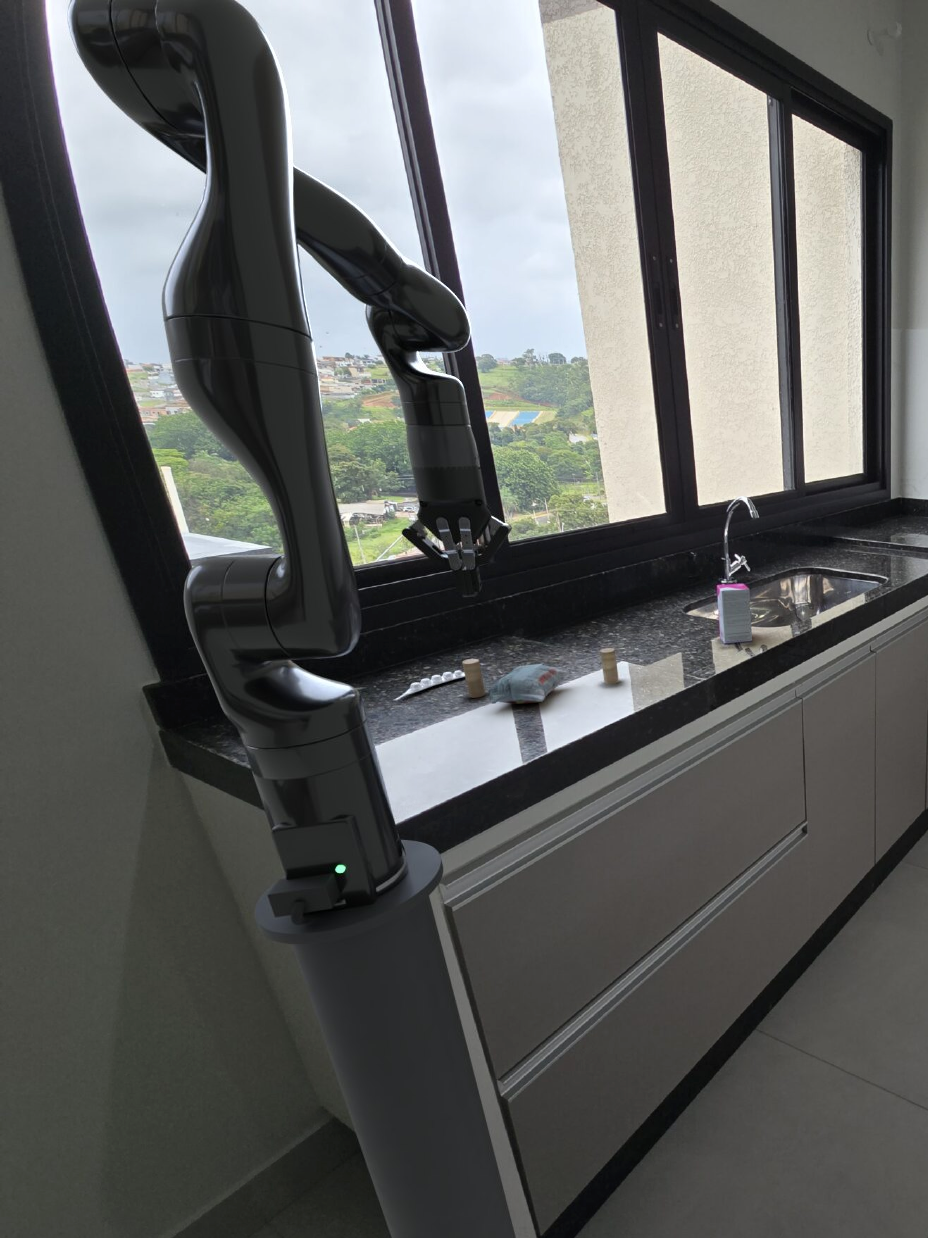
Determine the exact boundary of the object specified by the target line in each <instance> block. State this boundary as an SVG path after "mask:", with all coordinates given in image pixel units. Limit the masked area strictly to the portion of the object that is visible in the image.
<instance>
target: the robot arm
mask: <svg viewBox="0 0 928 1238" xmlns="http://www.w3.org/2000/svg"><path fill="white" fill-rule="evenodd" d="M67 24H68V29H69V34H70V37H71V40H72V42H73V46H74V48H75V51H76V53H77V55H78V57H79V59H80V60H81V62H82V64H83V66H84V68H85V69H86V71H87V72H88V73H89V75H90V76H91V78H92V79H93V81H94V82H95V83H96V85H97V86H98V87H99V89H100V90H101V91H102V92H103V93H104V94H105V96H106V97H107V98H108V100H110V101H111V102H112V103H113V104H114V105H115V106H116V107H117V108H118V109H119V110H120V111H122V112H123V114H125V115H126V117H128V118H129V119H131V121H133V122H134V123H135V124H137V126H139V127H140V128H141V129H143V130H144V131H145V132H147V134H149V135H150V136H152V137H153V138H154V139H155V140H157V141H159V142H160V143H161V144H163V145H164V146H165V147H167V148H168V149H170V150H171V151H172V152H174V153H175V154H176V155H178V156H179V157H180V158H182V159H183V160H184V161H186V162H187V163H189V164H190V165H192V166H193V167H195V168H196V169H198V170H199V171H200V172H201V173H202V174H204V175H205V183H204V190H203V194H202V197H201V201H200V204H199V206H198V209H197V211H196V213H195V214H194V217H193V219H192V222H191V224H190V226H189V227H188V229H187V231H186V233H185V235H184V237H183V239H182V241H181V243H180V245H179V247H178V249H177V251H176V253H175V255H174V256H173V257H174V258H173V260H172V262H171V264H170V266H169V269H168V271H167V274H166V277H165V281H164V284H163V286H162V291H161V311H162V320H163V325H164V330H165V336H166V341H167V347H168V348H167V349H168V353H169V357H170V358H169V359H170V363H171V369H172V374H173V377H174V381H175V383H176V386H177V389H178V390H179V392H180V394H181V396H182V398H183V399H184V401H185V402H186V403H187V405H188V406H189V408H190V409H191V410H192V412H193V413H194V414H195V416H196V417H197V418H198V419H199V420H200V421H201V422H202V424H203V425H204V426H205V427H206V428H207V429H208V431H210V433H211V434H212V435H213V436H214V437H215V438H216V439H217V440H218V441H219V443H220V444H222V446H223V447H224V448H225V449H226V450H227V451H228V452H229V453H230V454H231V455H232V456H233V457H234V459H236V461H238V463H239V465H240V466H242V467H243V468H244V470H245V471H246V472H247V473H248V474H249V475H250V477H251V478H252V480H254V482H255V484H257V486H258V487H259V489H260V490H261V492H262V493H263V495H264V497H265V499H266V501H267V503H268V505H269V507H270V509H271V511H272V514H273V516H274V520H275V523H276V526H277V530H278V532H279V536H280V540H281V544H282V551H283V553H270V554H269V553H268V554H266V553H265V554H262V553H261V554H233V555H232V554H230V555H217V556H211V557H207V558H204V559H202V560H200V561H199V562H197V563H196V564H195V565H193V567H192V568H191V569H190V570H189V572H188V574H187V576H186V579H185V582H184V586H183V587H184V589H183V606H184V612H185V618H186V621H187V625H188V629H189V632H190V634H191V636H192V639H193V642H194V645H195V646H196V649H197V652H198V654H199V656H200V659H201V661H202V663H203V666H204V667H205V670H206V673H207V675H208V677H209V679H210V682H211V684H212V687H213V690H214V692H215V695H216V697H217V700H218V702H219V704H220V707H221V709H222V712H223V713H224V715H225V716H226V717H227V718H228V720H229V721H230V723H232V724H233V725H234V727H235V728H236V730H237V731H238V733H239V736H240V740H241V742H242V746H243V748H244V751H245V754H246V758H247V760H248V763H249V764H248V765H249V766H250V769H251V773H252V776H253V779H254V782H255V785H256V788H257V792H258V794H259V797H260V801H261V804H262V807H263V810H264V813H265V816H266V818H267V821H268V824H269V827H270V835H271V838H272V841H273V844H274V848H275V850H276V853H277V857H278V859H279V862H280V863H279V864H280V866H281V868H282V872H283V874H284V875H283V876H285V879H281V878H279V879H278V880H276V882H277V883H276V884H275V885H274V887H273V888H272V889H271V891H270V892H269V893H268V895H267V896H268V899H269V902H270V905H271V907H272V910H273V913H274V916H275V918H276V917H282V916H288V915H291V921H292V923H293V924H294V925H302V924H306V923H308V922H309V921H311V916H310V915H312V914H318V913H324V912H330V911H337V910H343V909H349V908H355V907H361V906H367V905H372V904H374V903H375V901H376V899H377V898H378V897H379V896H381V895H382V894H384V893H386V892H388V891H389V890H391V889H392V888H393V887H395V886H396V885H397V884H398V883H399V882H400V881H401V880H402V879H403V878H404V877H405V875H406V873H407V871H408V865H407V861H406V857H405V855H406V853H405V849H404V846H403V844H402V842H401V840H402V839H401V838H400V836H399V831H398V827H397V824H396V821H395V817H394V813H393V809H392V805H391V801H390V798H389V794H388V790H387V787H386V782H385V779H384V775H383V772H382V768H381V764H380V760H379V757H378V753H377V747H376V745H375V740H374V736H373V732H372V728H371V725H370V721H369V717H368V712H367V709H366V706H365V701H364V697H363V696H362V694H361V692H360V691H359V690H358V689H357V688H356V687H354V686H352V685H351V684H348V683H346V682H342V681H337V680H334V679H330V678H326V677H323V676H320V675H317V674H315V673H312V672H310V671H308V670H306V669H304V668H303V667H300V666H299V665H297V664H296V663H295V662H294V661H298V660H299V661H300V660H316V659H332V658H337V657H338V658H339V657H343V656H344V655H345V656H346V655H347V654H349V653H351V652H352V650H353V649H354V648H355V647H356V645H357V643H358V642H359V638H360V635H361V630H362V603H361V598H360V597H361V596H360V591H359V586H358V582H357V578H356V577H357V576H356V573H355V568H354V564H353V560H352V556H351V555H352V554H351V552H350V548H349V543H348V539H347V536H346V531H345V527H344V524H343V520H342V516H341V511H340V507H339V503H338V500H337V495H336V490H335V485H334V480H333V475H332V470H331V464H330V463H331V462H330V457H329V456H330V455H329V450H328V444H327V438H326V431H325V424H324V413H323V407H322V406H323V405H322V397H321V387H320V380H319V379H320V377H319V371H318V364H317V358H316V350H315V344H314V342H313V341H314V339H313V334H312V328H311V323H310V317H309V313H308V308H307V307H308V306H307V301H306V295H305V289H304V282H303V276H302V275H303V274H302V268H301V267H302V266H301V259H300V253H299V247H300V248H301V249H302V250H303V251H304V252H306V253H307V254H308V256H310V257H311V258H312V259H313V260H314V261H315V262H316V263H317V264H318V265H319V267H321V268H322V269H323V270H324V271H326V273H327V274H328V275H329V276H330V277H331V278H332V279H334V281H336V282H337V283H338V284H339V286H341V287H342V288H343V289H344V290H345V291H346V292H347V293H348V294H349V295H350V296H352V297H353V298H354V299H355V300H357V301H358V302H360V303H362V304H364V316H365V321H366V324H367V327H368V330H369V332H370V334H371V337H372V339H373V340H374V343H375V344H376V346H377V348H378V351H379V352H380V354H381V355H382V358H383V360H384V362H385V364H386V367H387V369H388V371H389V373H390V375H391V377H392V379H393V381H394V384H395V386H396V388H397V391H398V394H399V399H400V405H401V409H402V415H403V419H404V420H403V421H404V424H405V430H406V445H407V451H408V456H409V460H410V461H409V462H410V465H411V471H412V475H413V480H414V485H415V490H416V491H415V492H416V495H417V500H418V505H419V507H418V511H417V513H416V518H417V520H415V521H414V522H413V523H411V524H410V525H409V526H406V527H405V528H403V529H402V530H401V534H402V536H403V537H404V538H405V539H406V540H407V541H408V542H410V543H411V544H412V545H413V546H414V547H415V548H416V549H418V550H419V551H420V552H421V553H422V554H423V555H424V556H426V557H427V558H428V559H429V560H430V561H431V562H432V563H434V564H435V565H437V566H440V567H441V566H443V567H446V568H449V569H450V570H451V571H452V575H453V581H454V585H455V590H456V592H457V593H458V594H461V595H462V597H463V598H472V597H474V598H475V597H477V595H478V593H479V592H480V591H481V590H482V587H483V584H482V579H481V573H480V566H482V565H487V564H488V563H489V562H490V561H492V560H493V558H494V556H495V555H496V554H497V552H498V550H499V549H500V548H501V546H502V544H504V542H505V541H506V539H507V537H508V536H509V534H510V533H511V531H512V530H513V527H512V525H511V523H507V522H503V521H501V520H500V519H498V518H497V517H496V516H495V517H494V513H493V511H492V509H491V507H490V506H489V505H488V503H487V499H486V494H485V488H484V481H483V476H482V469H481V464H480V461H481V460H480V454H479V452H478V447H477V442H476V439H475V436H474V433H473V429H472V426H471V419H470V413H469V409H468V404H467V403H468V402H467V398H466V392H465V388H464V385H463V383H462V381H460V380H459V379H458V378H457V377H456V376H453V375H450V374H446V373H441V372H436V371H432V370H430V369H429V368H428V367H427V366H426V365H425V363H424V361H422V359H421V357H420V355H419V353H454V352H458V351H460V350H462V349H463V348H465V347H466V346H467V345H468V343H469V341H470V338H471V335H472V327H471V321H470V318H469V315H468V313H467V310H466V308H465V307H464V305H463V303H462V302H461V300H460V299H459V298H458V297H457V295H455V293H454V292H453V291H452V290H451V289H450V288H449V287H447V286H446V285H445V284H444V283H443V282H442V281H440V280H439V279H438V278H437V277H434V276H433V275H432V274H430V273H429V272H427V271H426V270H424V269H423V267H421V266H420V265H418V264H417V263H416V262H413V261H412V260H410V259H408V258H407V257H405V256H403V254H402V253H401V252H400V251H399V250H398V249H397V247H396V246H395V245H394V244H393V242H392V241H391V240H390V239H389V238H388V237H387V236H386V234H385V233H384V232H383V231H382V230H381V228H380V227H379V226H378V225H377V224H376V223H375V222H374V221H373V219H371V217H370V216H369V215H368V214H367V213H365V211H363V210H362V209H361V208H360V207H359V206H358V205H356V204H355V203H354V202H353V201H351V200H350V199H349V198H347V197H346V196H344V195H343V194H341V193H340V192H339V191H337V190H336V189H334V188H332V187H331V186H329V185H327V184H326V183H324V182H322V181H321V180H319V179H317V178H316V177H314V176H312V175H311V174H309V173H307V172H305V171H304V170H302V169H301V168H299V167H297V166H295V165H294V161H293V139H292V124H291V123H292V121H291V114H290V107H289V98H288V93H287V88H286V84H285V81H284V77H283V74H282V73H283V72H282V69H281V67H280V64H279V61H278V59H277V56H276V53H275V51H274V48H273V47H272V44H271V42H270V41H269V38H268V37H267V35H266V33H265V31H264V30H263V28H262V26H261V25H260V23H258V21H257V20H256V18H255V17H254V16H253V14H252V13H251V12H249V10H248V9H246V8H245V6H244V5H242V4H241V3H240V2H238V1H237V0H70V1H69V3H68V8H67ZM488 526H490V529H489V534H490V535H491V536H492V537H491V539H490V541H489V542H488V544H487V545H486V546H485V548H484V549H483V551H482V552H481V553H479V539H481V538H482V536H483V534H484V533H485V531H486V529H487V528H488ZM428 531H429V532H430V533H431V534H432V535H433V536H434V537H435V538H436V539H437V540H439V542H442V545H443V549H444V550H442V549H441V548H440V546H439V545H437V544H436V543H435V542H434V541H432V540H431V539H430V538H429V537H428V535H429V532H428ZM402 848H403V850H402ZM403 851H404V853H405V855H404V853H403Z"/></svg>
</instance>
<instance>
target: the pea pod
mask: <svg viewBox="0 0 928 1238" xmlns="http://www.w3.org/2000/svg"><path fill="white" fill-rule="evenodd" d="M461 678H465V674H464V671H462V670H461V669H460V670H459V669H458V670H455V671H454V672H453V673H452V671H446V672H445V671H444V672H443V673H442V675H440V674H435V675H432V676H431V678H428V677H427V678H426V677H425V678H422V679H421V680H420V682H412V683H410V686H409V688H408V689H407V690H406V691H405V692H404V693H403V694H401V695H400V696H398V697H397V698H395V699H394V701H395V702H397V701H399V700H401V699H402V698H405V697H406V696H408V695H412V694H415V693H417V692H420V691H423V690H425V689H428V688H431V687H433V686H434V687H435V686H437V685H440V684H443V683H447V682H450V681H453V680H458V679H461Z"/></svg>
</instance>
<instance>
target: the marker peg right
mask: <svg viewBox="0 0 928 1238" xmlns="http://www.w3.org/2000/svg"><path fill="white" fill-rule="evenodd" d="M599 654H600V660H601V668H602V669H601V670H602V677H603V683H604V685H615V684H618V683H619V682H620V678H619V671H618V670H619V669H618V663H617V656H616V654H617V653H616V649H615V648H612V647H606V648H602V649H600V650H599Z"/></svg>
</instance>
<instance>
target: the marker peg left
mask: <svg viewBox="0 0 928 1238" xmlns="http://www.w3.org/2000/svg"><path fill="white" fill-rule="evenodd" d="M462 668H463V672H464V674H465V677H464V679H465V683H466V688H467V694H468V697H469V698H471V699H477V698H481V697H484V696H485V695H486V689H485V683H484V678H483V673H482V668H481V664H480V659H478V658H470V659H469V658H468V659H465V660H463V661H462Z"/></svg>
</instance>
